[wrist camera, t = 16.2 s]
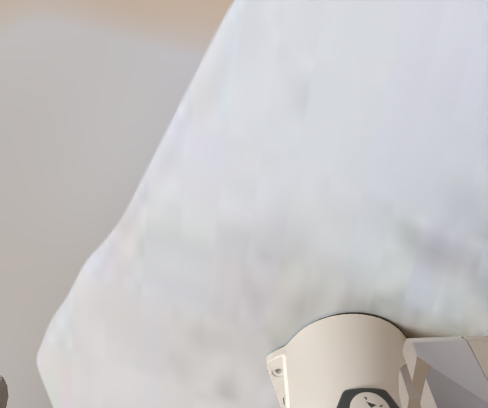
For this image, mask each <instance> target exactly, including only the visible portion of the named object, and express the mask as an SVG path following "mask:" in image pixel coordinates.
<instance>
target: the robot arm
mask: <svg viewBox="0 0 488 408" xmlns="http://www.w3.org/2000/svg"><path fill="white" fill-rule="evenodd" d="M266 363H267V368H268V371H269V374H270V377H271V380H272V383H273V386H274V388H275V391H276V394H277V397H278V400H279V403H280V406H281V408H488V336H466V337H459V336H457V337H430V338H406V337H405V336H404V335H403V333H402V332H401V331H400V330H399V329H398V328H397V327H395V326H394V325H392V324H391V323H389V322H387V321H385V320H383V319H380V318H377V317H374V316H369V315H362V314H343V315H336V316H331V317H327V318H324V319H321V320H318V321H316V322H314V323H312V324H310V325H308V326H307V327H305V328H304V329H302V330H301V331H300V332H299V333H298V334H297V335H296V336H295V337H294V338H293V339H292V340H291V341H290V342H289V343H288V344H287V345H286V346H284V347H282V348H280V349H278V350H276V351H274V352H272V353H270V354H269V355H268V356H267V357H266ZM7 401H8V390H7V384H6V382H5V380H4V378H3V377H2V376H1V375H0V408H6V406H7Z"/></svg>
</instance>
